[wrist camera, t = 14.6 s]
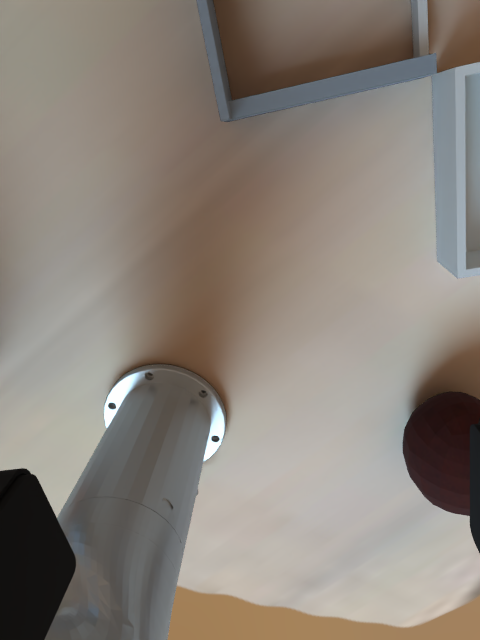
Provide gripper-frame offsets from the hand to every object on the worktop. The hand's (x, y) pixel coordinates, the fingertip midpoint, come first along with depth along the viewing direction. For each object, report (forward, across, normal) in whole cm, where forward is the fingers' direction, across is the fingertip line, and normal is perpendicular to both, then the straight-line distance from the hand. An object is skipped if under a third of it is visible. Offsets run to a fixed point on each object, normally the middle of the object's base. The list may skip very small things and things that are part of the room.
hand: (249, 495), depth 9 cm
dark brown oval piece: (+31, -13, +23) cm, 40 cm away
